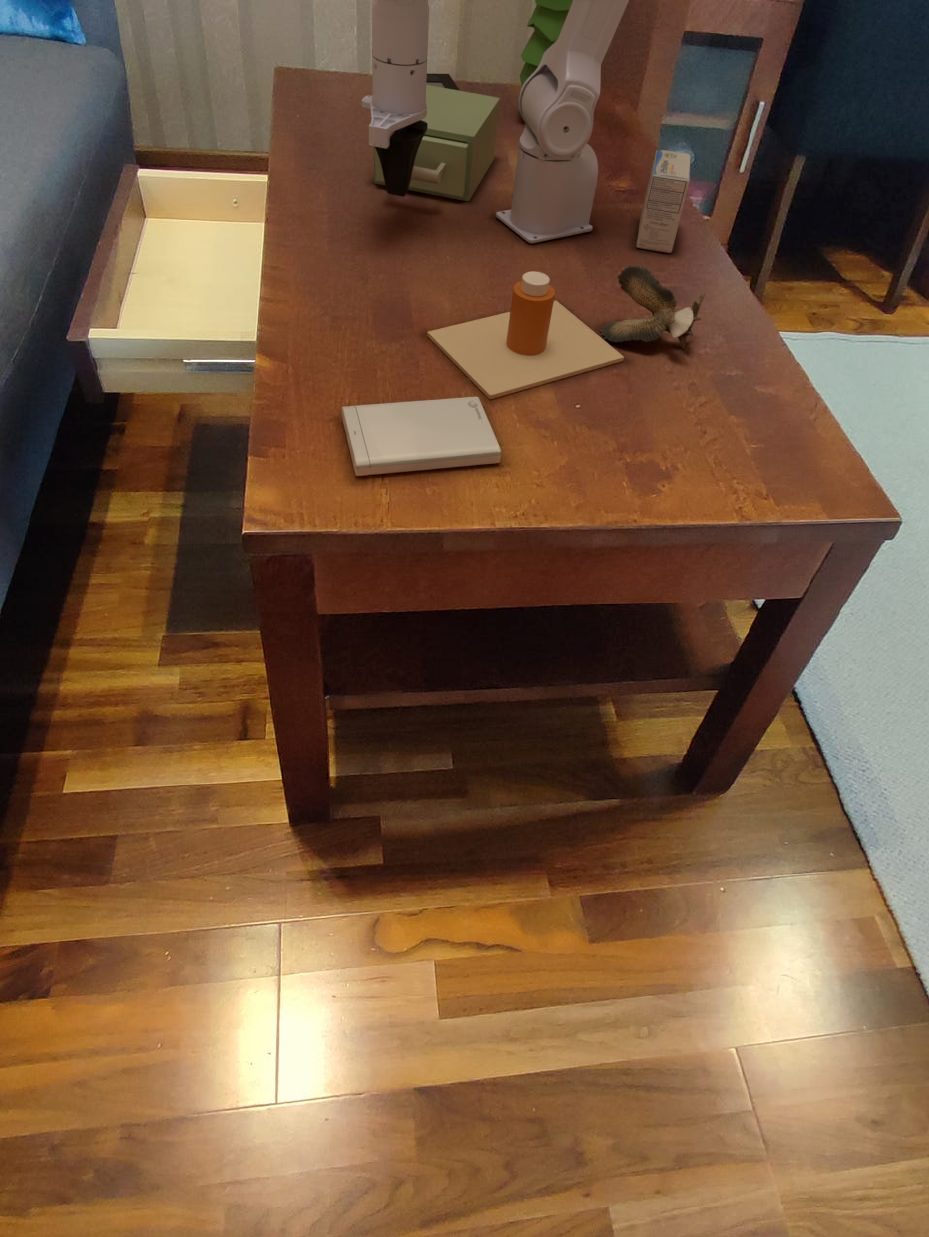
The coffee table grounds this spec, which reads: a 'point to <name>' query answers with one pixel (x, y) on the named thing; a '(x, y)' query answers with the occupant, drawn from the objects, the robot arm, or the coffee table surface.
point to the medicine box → (664, 201)
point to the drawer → (436, 166)
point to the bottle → (530, 314)
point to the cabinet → (463, 130)
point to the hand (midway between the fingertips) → (397, 192)
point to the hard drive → (419, 435)
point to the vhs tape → (441, 81)
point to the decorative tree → (543, 32)
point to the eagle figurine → (658, 302)
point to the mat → (505, 371)
